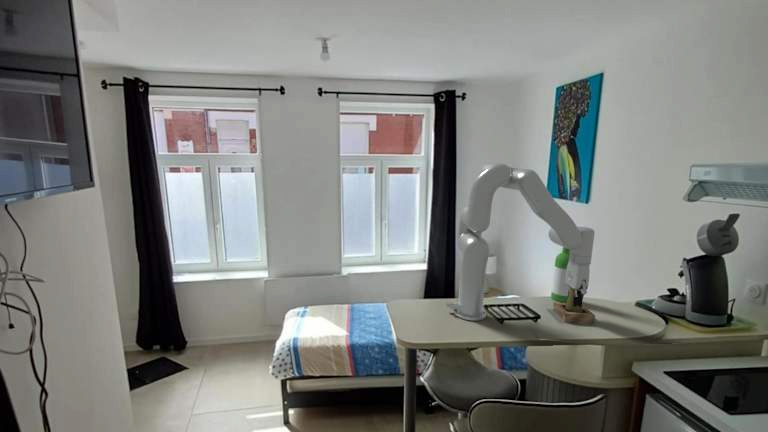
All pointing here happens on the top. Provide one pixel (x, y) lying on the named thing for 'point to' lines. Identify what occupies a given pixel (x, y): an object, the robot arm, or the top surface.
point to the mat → (561, 319)
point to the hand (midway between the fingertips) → (574, 303)
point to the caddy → (573, 314)
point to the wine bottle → (560, 277)
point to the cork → (570, 301)
